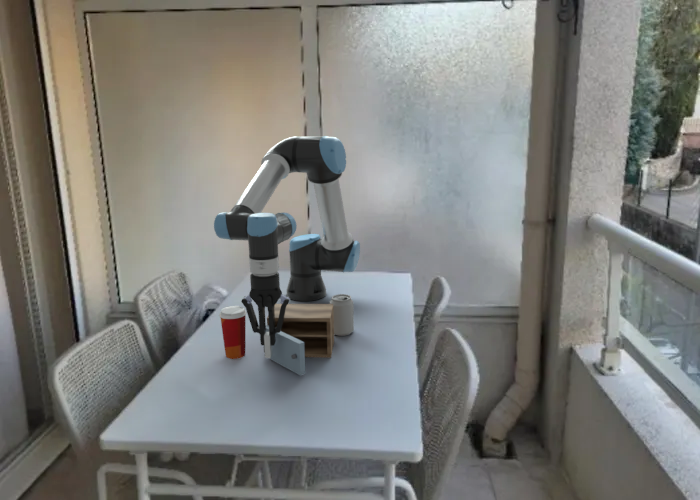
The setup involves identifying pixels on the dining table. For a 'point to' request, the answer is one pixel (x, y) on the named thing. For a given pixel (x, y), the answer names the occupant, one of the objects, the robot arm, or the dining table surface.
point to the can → (343, 314)
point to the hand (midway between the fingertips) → (268, 355)
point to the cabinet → (309, 326)
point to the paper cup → (233, 331)
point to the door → (288, 352)
